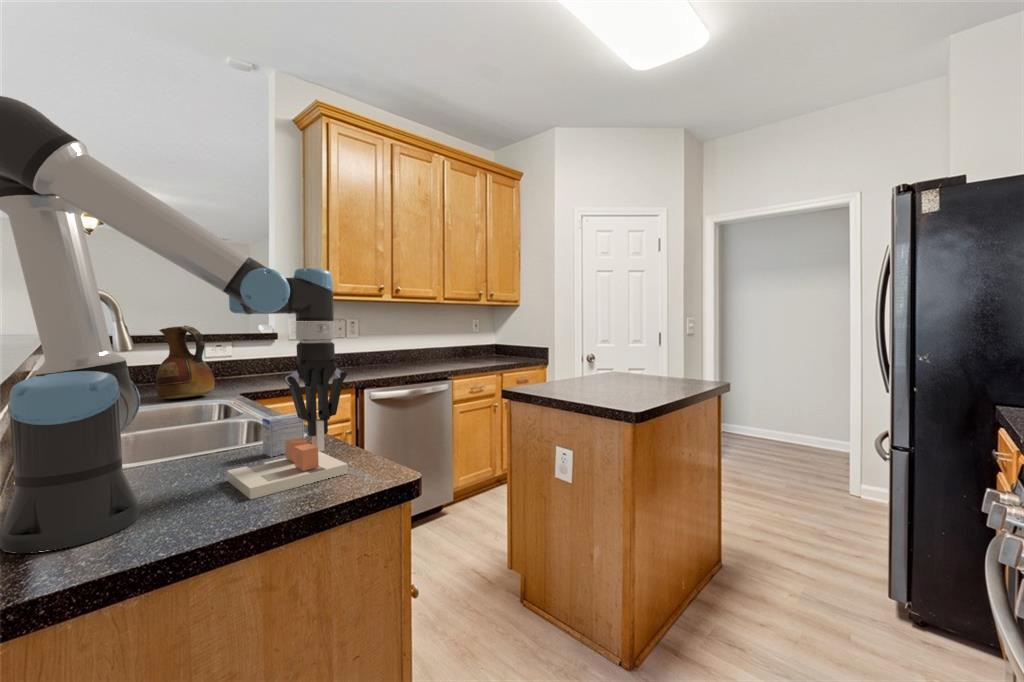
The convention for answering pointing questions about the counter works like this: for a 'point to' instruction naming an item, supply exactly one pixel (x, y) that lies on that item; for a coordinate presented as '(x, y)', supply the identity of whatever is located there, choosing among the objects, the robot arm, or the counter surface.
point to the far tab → (290, 447)
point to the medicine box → (280, 432)
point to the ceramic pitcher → (183, 367)
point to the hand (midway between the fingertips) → (318, 449)
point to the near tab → (306, 457)
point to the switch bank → (282, 475)
